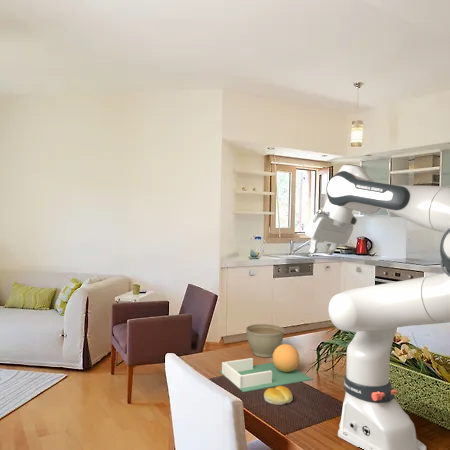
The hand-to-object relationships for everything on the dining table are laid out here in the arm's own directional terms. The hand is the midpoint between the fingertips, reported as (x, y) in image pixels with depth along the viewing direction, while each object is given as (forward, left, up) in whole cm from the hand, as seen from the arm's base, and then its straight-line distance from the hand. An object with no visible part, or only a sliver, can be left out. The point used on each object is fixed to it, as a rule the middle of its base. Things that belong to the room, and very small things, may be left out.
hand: (320, 253), depth 133 cm
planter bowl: (+42, -4, -47) cm, 63 cm away
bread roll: (+2, +14, -47) cm, 49 cm away
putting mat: (+21, +8, -46) cm, 52 cm away
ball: (+21, -1, -41) cm, 46 cm away
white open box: (+21, +15, -46) cm, 53 cm away
